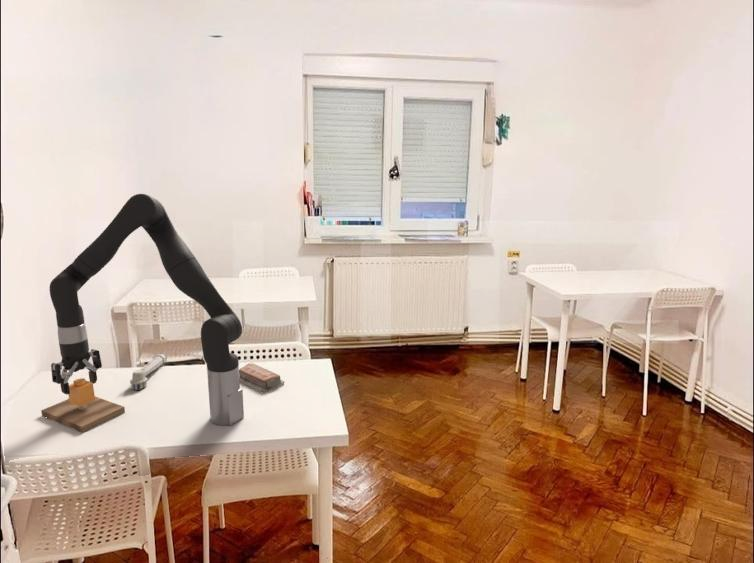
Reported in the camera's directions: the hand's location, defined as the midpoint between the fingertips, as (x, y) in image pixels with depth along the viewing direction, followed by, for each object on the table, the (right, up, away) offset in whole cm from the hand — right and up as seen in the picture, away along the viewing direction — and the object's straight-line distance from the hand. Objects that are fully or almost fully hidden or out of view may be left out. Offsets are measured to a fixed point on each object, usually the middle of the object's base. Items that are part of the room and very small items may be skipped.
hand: (80, 388), depth 162 cm
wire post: (0, -7, +2) cm, 7 cm away
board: (0, -9, +3) cm, 9 cm away
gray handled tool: (+8, -2, +31) cm, 32 cm away
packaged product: (+49, -4, +28) cm, 56 cm away
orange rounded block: (0, -4, +1) cm, 5 cm away
